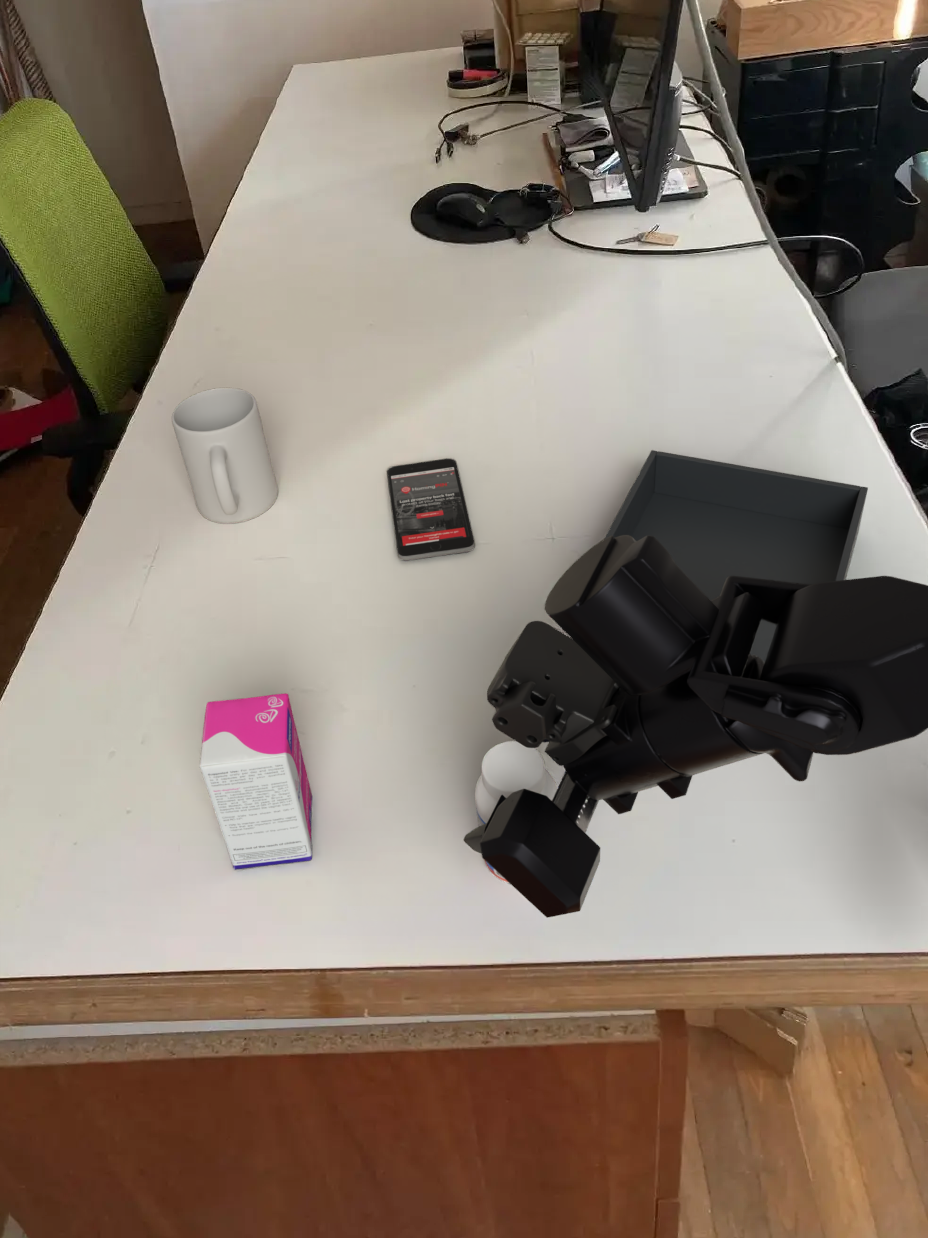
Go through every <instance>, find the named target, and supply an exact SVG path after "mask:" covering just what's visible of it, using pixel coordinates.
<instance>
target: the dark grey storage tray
mask: <svg viewBox="0 0 928 1238" xmlns="http://www.w3.org/2000/svg"><path fill="white" fill-rule="evenodd" d="M868 490H869V487H867V486H860V485H856V484H850V483H844V482H839V481H833V480H828V479H822V478H816V477H811V476H804V475H799V474H792V473H787V472H780V471H775V470H770V469H763V468H757V467H751V466H747V465H741V464H734V463H729V462H723V461H717V460H711V459H706V458H700V457H695V456H689V455H683V454H678V453H671V452H665V451H660V450H654V449H652V450H650V453H649V454H648V456H647V458H646V460H645V462H644V463H643V466H642V467H641V469H640V471H639V473H638V475H637V477H636V479H635V480H634V482H633V484H632V485H631V488H630V490H629V492H628V493H627V495H626V497H625V499H624V501H623V503H622V504H621V507H620V508H619V510H618V512H617V514H616V516H615V517H614V520H613V521H612V524H611V525H610V527H609V529H608V531H607V533H606V535H605V536H604V538H603V540H604V539H605V538H607V537H609V536H611V535H612V536H613V537H614V538H615V537H618V536H621V535H630V536H631V537H633V538H634V539H635V540H636V541H638V540H640V539H642V538H644V537H645V536H647V535H650V536H654V537H655V538H656V539H657V540H658V541H659V542H660V543H661V544H662V545H663V546H664V548H665V549H666V550H667V551H668V552H669V553H670V555H671V556H672V558H673V560H674V562H675V563H676V564H677V566H678V567H679V568H680V569H681V570H682V571H683V572H684V573H685V574H686V575H687V576H688V578H689V579H690V580H691V581H692V582H693V583H694V584H695V585H696V586H697V587H698V588H699V589H700V590H701V591H702V592H703V593H704V594H705V595H706V596H707V597H708V599H709V600H712V599H714V598H717V597H719V596H720V594H721V591H722V588H723V586H724V583H725V581H726V578H727V577H729V576H741V577H749V578H758V579H767V580H776V581H785V582H794V583H802V584H811V585H812V584H816V583H822V582H830V581H840V580H847V577H848V573H849V570H850V565H851V561H852V558H853V554H854V551H855V547H856V543H857V540H858V535H859V531H860V527H861V523H862V517H863V513H864V509H865V505H866V499H867V495H868ZM775 629H776V625H775V624H773V623H770V622H767V621H765V620H762V619H761V622H760V625H759V628H758V631H757V634H756V637H755V640H754V643H753V646H752V649H751V652H750V654H751V655H756V656H758V657H760V658H761V659H762V660H763V661H764V662H765V660H766V657H767V654H768V651H769V647H770V644H771V641H772V638H773V635H774V632H775Z"/></svg>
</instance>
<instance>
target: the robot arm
mask: <svg viewBox="0 0 928 1238" xmlns="http://www.w3.org/2000/svg"><path fill="white" fill-rule="evenodd" d="M604 538H605V537H604ZM604 538H603V539H602V540H600V541H598V542H597V543H596V544H594V545H593V546H592V547H590V548H588V550H587V551H585V552H584V553H583V554H581V556H580V557H578V558H577V559H576V560H575V561H574V562H573V563H572V564H571V565H570V566H569V567H568V568H567V569H566V570H565V571H564V573H563V574H562V575H561V576H560V577H559V579H558V580H557V581H556V583H555V584H554V585H553V587H552V588H551V590H550V592H549V593H548V595H547V597H546V600H545V603H544V612H545V613H546V615H548V616H549V617H550V618H551V619H552V620H553V621H554V622H555V623H556V624H557V626H559V627H560V628H561V629H562V630H563V631H564V632H565V633H566V634H565V633H563V632H562V631H560V630H559V629H556V627H554V626H552V625H551V624H548V623H547V622H544V621H541V620H531V621H529V622H528V623H527V624H526V625H525V627H524V628H523V630H522V631H521V633H520V634H519V635H518V637H517V638H516V640H515V641H514V643H513V645H512V646H511V648H510V649H509V651H508V652H507V654H506V655H505V656H504V659H503V661H502V662H501V664H500V666H499V668H498V670H497V671H496V673H495V675H494V676H493V678H492V680H491V682H490V684H489V685H488V687H487V689H486V700H487V702H488V704H489V705H491V706H492V707H493V708H494V711H495V713H494V714H493V717H492V718H491V722H492V724H493V725H494V728H495V729H496V730H497V731H499V732H500V733H502V734H503V735H505V736H507V737H509V738H510V739H512V740H513V741H517V742H518V743H520V744H522V745H523V746H525V747H527V748H536V749H537V748H539V747H540V746H541V744H542V743H548V744H547V745H546V748H545V749H544V753H545V754H546V755H547V756H548V757H549V758H550V759H551V760H552V761H553V762H555V764H556V765H558V766H559V767H560V766H561V767H563V768H564V773H563V775H562V778H561V780H560V782H559V785H558V786H557V791H556V793H555V795H554V797H553V799H552V801H551V800H550V799H549V798H548V797H547V796H546V795H543V794H539V793H536V792H533V791H530V790H527V789H521V790H519V791H516V792H513V793H511V794H510V795H509V796H508V797H507V798H506V797H504V796H503V795H501V796H500V798H499V800H498V802H497V804H496V806H495V808H494V810H493V812H492V814H491V816H490V818H489V820H488V822H487V823H486V824H484V825H482V826H480V827H479V826H478V827H476V828H474V829H472V830H470V832H468V833H466V834H465V835H464V838H463V840H462V841H463V842H464V843H465V844H466V845H467V846H468V847H469V848H470V849H471V850H472V851H474V852H476V853H479V854H481V858H482V859H483V861H484V860H485V861H486V862H487V863H488V864H490V865H491V866H492V867H493V868H494V869H495V870H496V871H497V872H498V873H499V874H500V875H501V876H502V877H504V878H505V879H506V880H507V881H508V882H509V883H510V884H509V885H511V886H512V887H513V888H514V889H515V890H516V891H517V892H519V893H520V895H521V896H523V897H524V898H525V899H526V900H527V901H528V902H529V903H530V904H531V905H532V906H533V907H534V908H536V909H537V910H538V911H539V912H540V913H541V914H542V915H543V916H544V917H545V918H553V917H557V916H563V915H567V914H574V913H578V912H581V910H582V908H583V905H584V902H585V899H586V897H587V895H588V892H589V890H590V887H591V884H592V882H593V880H594V877H595V875H596V872H597V870H598V867H599V865H600V864H601V863H600V862H601V846H600V845H598V843H596V842H595V840H593V839H592V838H591V837H590V836H589V835H588V834H587V833H586V832H587V829H588V827H589V825H590V823H591V820H592V819H593V816H594V813H595V811H596V808H597V807H598V804H599V802H600V801H602V800H603V801H604V802H605V803H606V804H607V805H608V806H609V807H610V808H611V809H612V810H613V811H614V812H615V813H616V814H617V815H621V814H626V813H629V812H631V811H632V810H633V807H634V805H635V802H636V800H637V797H638V794H639V792H642V791H645V790H649V789H652V788H656V787H659V788H660V789H661V791H663V792H664V793H665V795H667V796H668V797H669V798H670V799H671V800H674V799H677V798H682V797H684V796H686V795H687V792H688V791H689V790H688V789H689V786H690V784H691V782H692V779H693V776H695V775H698V774H701V773H704V772H707V771H712V770H714V769H718V768H722V767H724V766H728V765H731V764H734V763H737V762H741V761H745V760H747V759H750V758H755V757H757V756H760V755H763V754H766V755H768V756H770V757H771V758H772V759H773V760H774V761H775V762H776V763H777V764H778V766H780V767H781V768H782V769H783V770H784V771H785V772H786V773H787V774H788V775H789V776H790V777H791V779H793V780H795V781H796V782H805V781H806V780H807V779H808V777H809V772H810V769H811V764H812V760H813V757H814V754H820V755H824V756H843V755H844V756H845V755H853V754H858V753H862V752H866V751H869V750H873V749H876V748H880V747H884V746H887V745H890V744H894V743H898V742H902V741H906V740H909V739H912V738H915V737H917V736H919V735H921V734H922V733H924V732H925V731H927V730H928V584H925V583H920V582H916V581H913V580H912V581H911V580H908V579H904V578H899V577H896V576H890V575H878V576H877V575H876V576H869V577H860V578H849V579H846V580H840V581H830V582H822V583H816V584H812V585H811V584H802V583H794V582H785V581H776V580H767V579H758V578H749V577H741V576H729V577H727V578H726V581H725V583H724V586H723V588H722V591H721V594H720V596H719V597H717V598H714V599H712V600H709V599H708V597H707V596H706V595H705V594H704V593H703V592H702V591H701V590H700V589H699V588H698V587H697V586H696V585H695V584H694V583H693V582H692V581H691V580H690V579H689V578H688V576H687V575H686V574H685V573H684V572H683V571H682V570H681V569H680V568H679V567H678V566H677V564H676V563H675V562H674V560H673V558H672V556H671V555H670V553H669V552H668V551H667V550H666V549H665V548H664V546H663V545H662V544H661V543H660V542H659V541H658V540H657V539H656V538H655V537H654V536H650V535H647V536H645V537H644V538H642V539H640V540H638V541H636V540H635V539H634V538H633V537H631V536H630V535H621V536H618V537H615V538H614V537H613V536H612V535H611V536H609V537H607V538H605V539H604ZM761 619H762V620H765V621H767V622H770V623H773V624H775V625H776V629H775V632H774V635H773V638H772V641H771V644H770V647H769V651H768V654H767V657H766V660H765V662H764V661H763V660H762V659H761V658H760V657H758V656H756V655H751V654H750V652H751V649H752V646H753V643H754V640H755V637H756V634H757V631H758V628H759V625H760V622H761ZM485 861H484V862H485Z"/></svg>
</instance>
